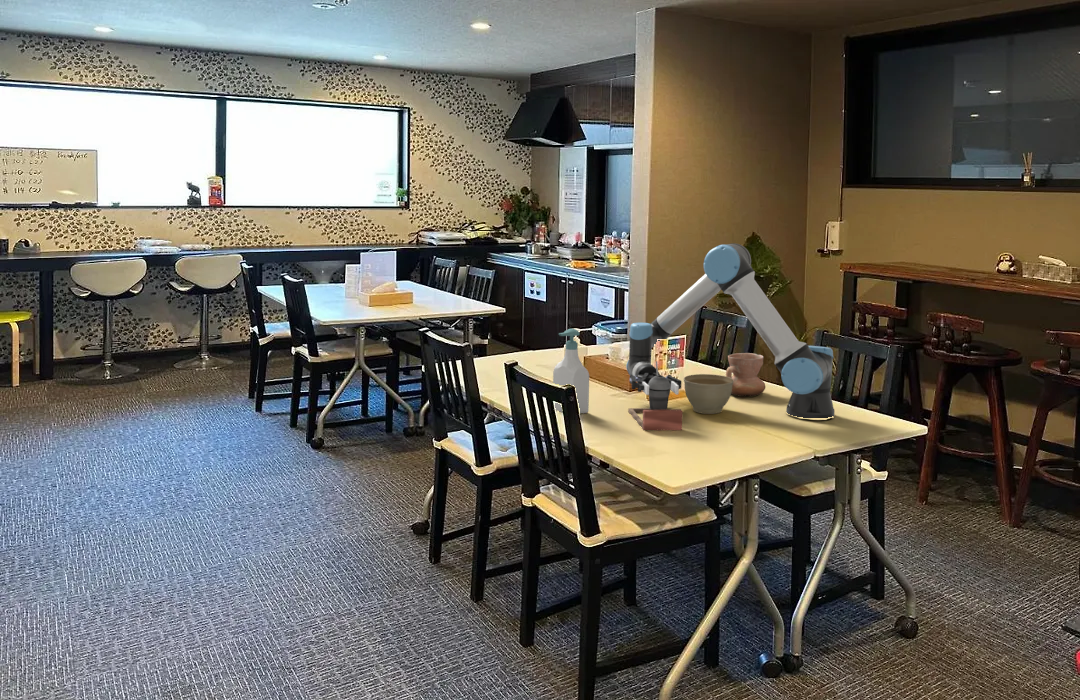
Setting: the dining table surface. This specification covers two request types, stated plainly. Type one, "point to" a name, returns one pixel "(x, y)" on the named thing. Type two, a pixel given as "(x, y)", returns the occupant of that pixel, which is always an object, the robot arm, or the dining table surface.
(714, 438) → the dining table surface
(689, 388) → the planter bowl
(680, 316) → the robot arm
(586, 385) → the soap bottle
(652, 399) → the beverage cup
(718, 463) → the dining table surface
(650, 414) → the brown tray
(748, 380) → the ceramic jug
